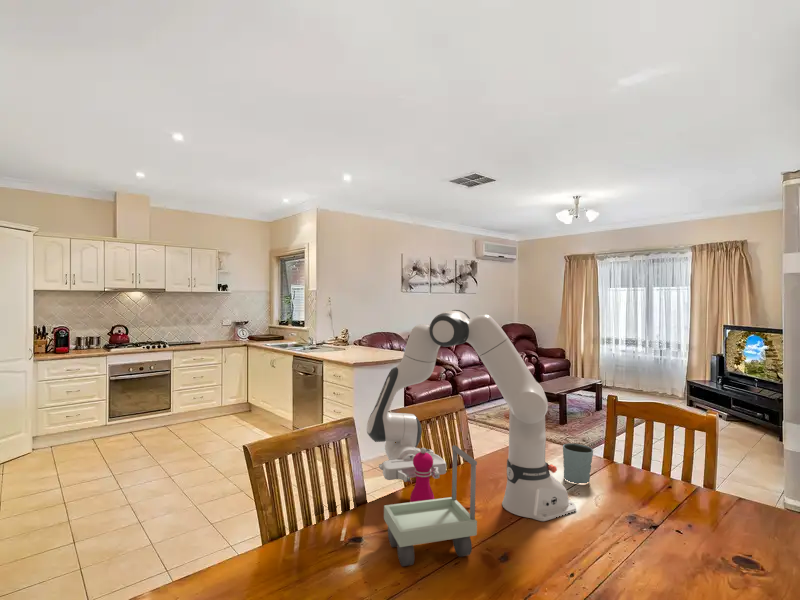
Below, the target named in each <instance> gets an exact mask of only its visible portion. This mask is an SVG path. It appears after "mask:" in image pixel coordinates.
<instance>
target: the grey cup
mask: <svg viewBox="0 0 800 600" xmlns="http://www.w3.org/2000/svg"><path fill="white" fill-rule="evenodd" d="M593 455H594V449H593V448H592V447H590V446H587V445H584V444H581V443H580V444H579V443H564V444H563V445H562V457H563V479H564V478H565V479H566V480H568V481H570V482H574V483H587V482H589V483H590V479H591V471H592V470H591V469H592V462H593Z"/></svg>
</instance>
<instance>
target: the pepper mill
mask: <svg viewBox="0 0 800 600" xmlns="http://www.w3.org/2000/svg"><path fill="white" fill-rule="evenodd" d="M420 449H421V450H420V453H417V454H416V455H415V456H414V459H413V465H414V467H415V472H414V474H415V475H416V477H415V484H414V487H413V489H412V491H411V493H410V499H409V502H416V501H424V500H432V499H435V496H434V492H433V489H432V487H431V484H430V478H431V477H430V475H431V469H430V468H431V467H432V466H433V458H432V456H431V455H430V454H428V453H426V449H427V448H425V447H421V448H420ZM431 476H432V475H431Z"/></svg>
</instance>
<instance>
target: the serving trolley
mask: <svg viewBox="0 0 800 600" xmlns="http://www.w3.org/2000/svg"><path fill="white" fill-rule="evenodd" d="M451 449H452V472H451V473H452V479H451V496H450V497H443V498H442V497H440V498H434V499H432V500H424V501H416V502H410V501H409V502H402V503H401V502H400V503H394V504H393V503H391V504H386V505H383V520H384V522H385V524H386V526H387V535H388V536H387V537H388V542H389V545H390V547H391V548H396V551H397V557H398V561H399V564H400V566H401V567H407V566H408V567H409V566H413V565H414V563H415V546H416V545H417V546H418V545H422V544H429V543H437V542H442V541H447V540H452V544H453V548H454V551H455V554H456V555H457V556H458V557H459V558H460V557H466V556H470V555H471V554H472V548H473V543H472V540H471V537H474V536H477V534H478V521H477V519H476V518H475V517H476V489H477V488H476V483H477V482H476V479H477V471H476V470H477V465H478V462H477V460H475V459H474V458H473V457H472V456H471V455H469V454H468V453H466V452H465V451H464V450H462V449H461V448H460V447H458V446H457V445H455V444H454V445H452V446H451ZM458 455H459V456H460V457H461V458H463V460H465V461H466V462H467V463H469V464H470V495H469V496H470V500H469V501H470V502H469V503H470V505H469V506H470V507H469V511H468V510H467V509H466V508H465V507H464V506H463V505H462V504H461V503H460V502H459V501H458V500H457V486H458V485H457V482H458V481H457V479H458V478H457V476H458V475H457V474H458Z"/></svg>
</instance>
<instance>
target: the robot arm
mask: <svg viewBox="0 0 800 600" xmlns="http://www.w3.org/2000/svg"><path fill="white" fill-rule="evenodd" d="M465 343H468V344H469V345H470V346H471V347H472V348H473V349H474V351H475V353H476V354H477V356H478V358H479V359H480V360H481V362H482V364H483V365H484V367H485V368H486V370H487V371H488V373H489V375H490V376H491V377H492V378H491V379H493V381H494V383H495V385H496V387H497V389H498V390H499V392H500V394H501V395H502V397H503V399H504V401H505V403H506V404H507V406H508V408H509V415H508V416H509V421H508V424H509V426H508V458H507V459H506V479H507V480H506V487H505V491H504V496H503V499H502V502H501V506H502V507H503V508H504V510H506V511H507V512H509V513H511V514H514V515H515V516H520V517H523V518H530V519H533V520H536V521H539V522H546V521H549V520H554V519H556V517H557V518H560V517H562V515H563V516H566V515H569V514H568V513H570V514H572V513H571V512H573V513H575V512H574V511H576V512H577V506H576V505H575V503H573V501H572V500H570V498H569V495H568V491H567V488H566V487H565V486H564V485H563V484H562V483H561V482H560V481H558V480H557V479H556V478H555V477H554V476H553V475H552V474H551V473H553V474H554V473H557V470H558V469H557V466H555V465H553V464H549V463H548V462H546V445H547V443H546V441H547V439H546V414H547V412H548V410H549V409H548V408H549V403H548V398H547V396H546V393H545V391H544V388H543V387H542V385H541V384H540V383H539V382H538V381H537V380H536V378H535V377H534V375H533V374H532V372H531V371H530V369H529V368H528V366H527V365H526V363H525V361H524V359H523V358H522V356H521V355H520V353H519V352H518V350H517V348H516V347H515V345H514V344H513V342H512V341H511V339H510V338H509V336H508V335H507V334H506V332H505V331H504V330H503V328H502V327H501V326H500V324H499V323H498V322H497V321H496V320H495V319H494V318H493V317H492V316H491V315H490V314H478V315H475V316H474V317H472V318H471V317H470V316H469V315H468V314H467V313H466V312H464V311H462V310H460V309H452V310H446V311H443V312H441V313H440V314H438V315H436V316H435V317H434V318H433V319H432V321H431V322H430V324H427V323H426V324H424V323H421V324H417V325H415V326H414V327H412V329H411V331H410V333H409V336H408V338H407V342H406V344H405V345H406V346H405V349H404V353H403V356H402V358H401V361H400V362H399V363H398V364H397V365H396V366H395V367H393V368H391V369H390V370H389V373H388V375H387V377H386V379H385V381H384V383H383V386H382V389H381V390H380V394H379V396H378V398H377V401H376V403H375V405H374V408H373V410H372V411H371V414H370V415H369V417H368V420H367V424H366V433H367V435H368V436H369V438H370V439H371V440H372V441H374V442H375V443H380V442H382V443H384V442H385V443H384V450H385V454H386V457H387V458H388V460H385V461H383V462H382V463H380V464H378V468H379V469H380V470H381V471H382V474H383V479H384V480H387V481H392V480H402V481H403V482H404V483H407V482H410V481H411V479H410V478H416V475H415V474H414V472H415V467H414V465H413V459H414V456H415V455H416V454H417V453H420V450H421V448H419V447H418V446H419V443H420V441H421V438H422V433H423V431H422V423H421V422H420V420H419V418H418V417H417V416H416V415H415V414H414V413H405V412H389V411H390V408H391V405H392V403H393V401H394V398H395V396H396V394H397V393H398V392H399V391H400V390H402V389H404V388H407V387H409V386H410V387H411V386H414V385H417V384H420V383H423V382H425V381H427V380H428V379H429V378H430V377H431V376H432V374H433V372H434V370H435V366H436V362H437V357H438V355H439V354H438V353H439V350H440V348H441V347H445V348H446V347H447V348H448V347H455V346H457V345H463V344H465ZM395 442H396V443H395ZM425 449H426V453H428V454H430V455H431V456H432V458H433V466H432V467H431V468H430V469H431V475H430V476H432V478H433V479H440V475H445V474H446V473H447V462H446V460H445V459H444V458H442V456H440V455H438V454H436V453H435V451H434V450H432V449H430V448H429V449H428V448H425ZM550 472H551V473H550ZM565 514H566V515H565ZM559 516H560V517H559Z"/></svg>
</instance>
